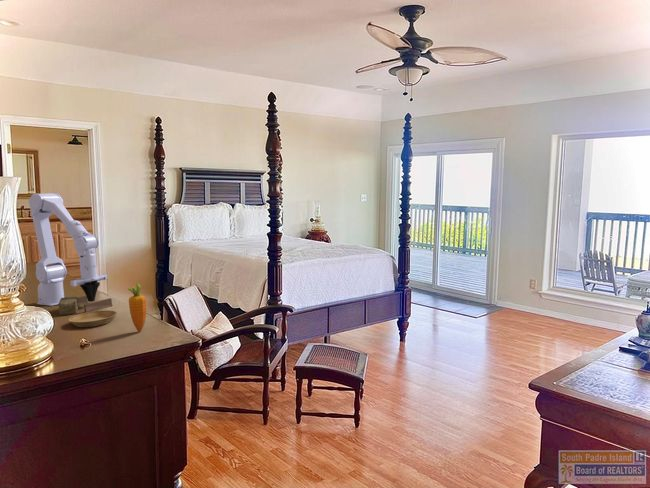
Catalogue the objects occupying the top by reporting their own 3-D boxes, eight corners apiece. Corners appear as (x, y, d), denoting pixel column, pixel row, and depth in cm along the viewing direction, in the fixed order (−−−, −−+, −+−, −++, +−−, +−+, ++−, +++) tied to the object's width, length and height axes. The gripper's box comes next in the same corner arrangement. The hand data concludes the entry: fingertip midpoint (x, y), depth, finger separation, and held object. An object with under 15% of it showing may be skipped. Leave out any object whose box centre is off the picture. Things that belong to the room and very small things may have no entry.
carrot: (137, 334, 144) (134, 286, 142) (127, 332, 147) (123, 285, 145) (151, 330, 148) (148, 283, 146) (141, 328, 151) (137, 282, 149)
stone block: (59, 316, 170) (57, 303, 170) (61, 310, 180) (60, 297, 180) (77, 314, 172) (76, 301, 172) (78, 308, 183) (77, 295, 182)
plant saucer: (70, 332, 150) (69, 324, 150) (67, 322, 162) (66, 314, 162) (120, 324, 158) (120, 316, 157) (113, 315, 170) (113, 308, 170)
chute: (60, 309, 180) (59, 301, 180) (86, 302, 190) (85, 295, 190) (86, 312, 174) (85, 304, 173) (112, 306, 183) (111, 298, 183)
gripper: (78, 270, 174) (81, 306, 176) (111, 264, 187) (114, 297, 188) (65, 269, 177) (68, 304, 179) (99, 263, 190) (102, 296, 192)
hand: (91, 301), depth 184 cm, fingers closed
